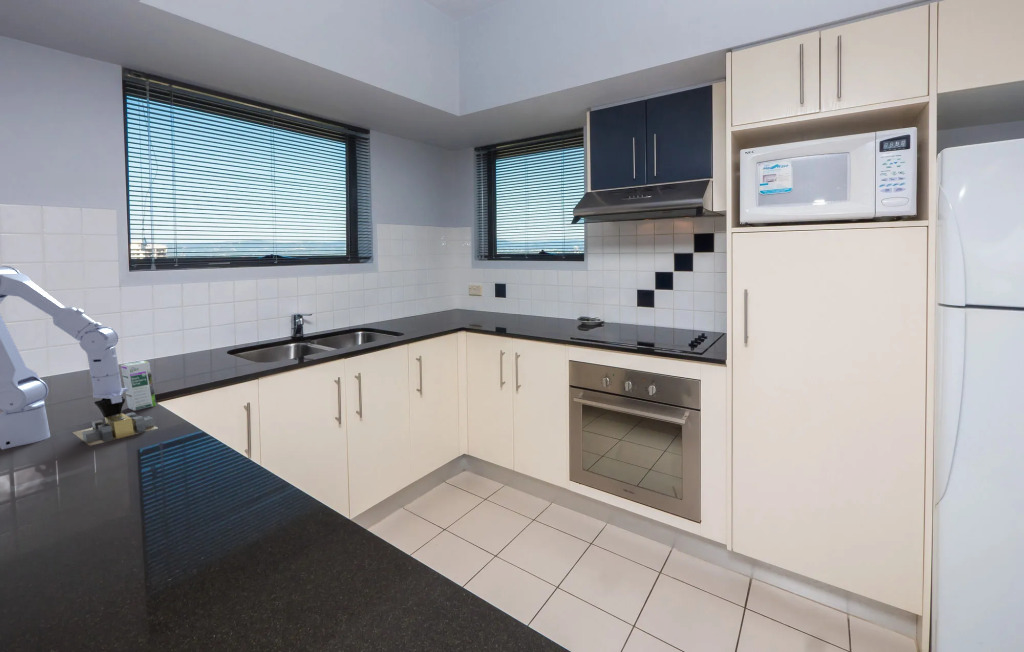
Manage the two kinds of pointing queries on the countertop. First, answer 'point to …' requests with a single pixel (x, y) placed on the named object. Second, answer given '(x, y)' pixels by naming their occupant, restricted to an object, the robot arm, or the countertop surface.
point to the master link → (120, 425)
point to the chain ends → (105, 432)
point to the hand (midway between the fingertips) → (113, 426)
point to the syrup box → (138, 385)
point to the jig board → (79, 434)
